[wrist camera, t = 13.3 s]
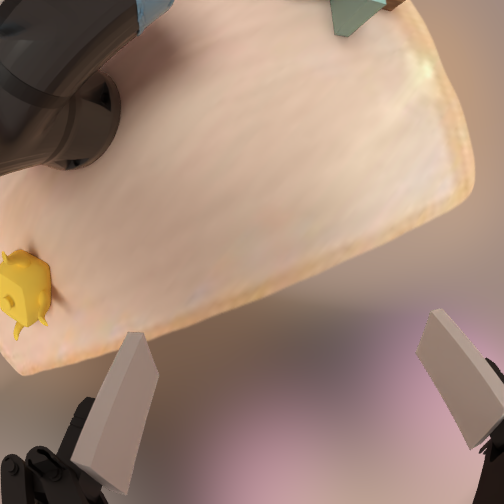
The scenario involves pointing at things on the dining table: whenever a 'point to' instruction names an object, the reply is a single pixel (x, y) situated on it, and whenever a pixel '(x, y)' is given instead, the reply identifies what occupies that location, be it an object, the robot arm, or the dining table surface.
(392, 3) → the walnut plate
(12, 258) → the yellow lumpy piece
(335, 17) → the sage plate
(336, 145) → the dining table surface
